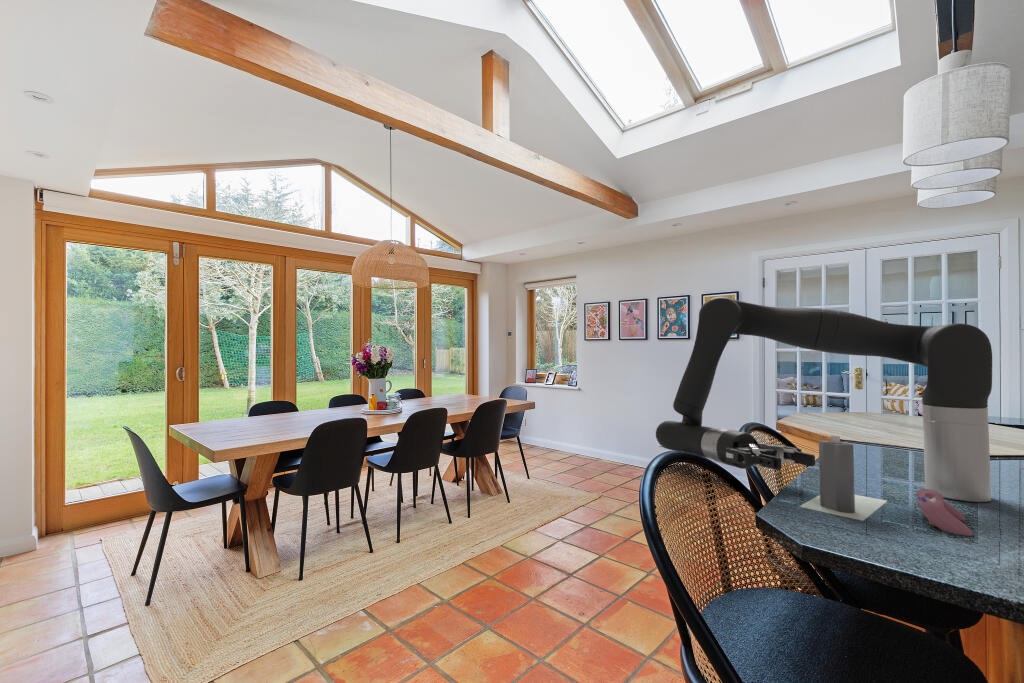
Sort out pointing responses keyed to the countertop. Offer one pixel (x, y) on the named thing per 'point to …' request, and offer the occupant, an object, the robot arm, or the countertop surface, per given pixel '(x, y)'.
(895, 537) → the countertop surface
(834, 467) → the candle
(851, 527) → the countertop surface
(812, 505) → the mat
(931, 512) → the video game controller
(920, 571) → the countertop surface
